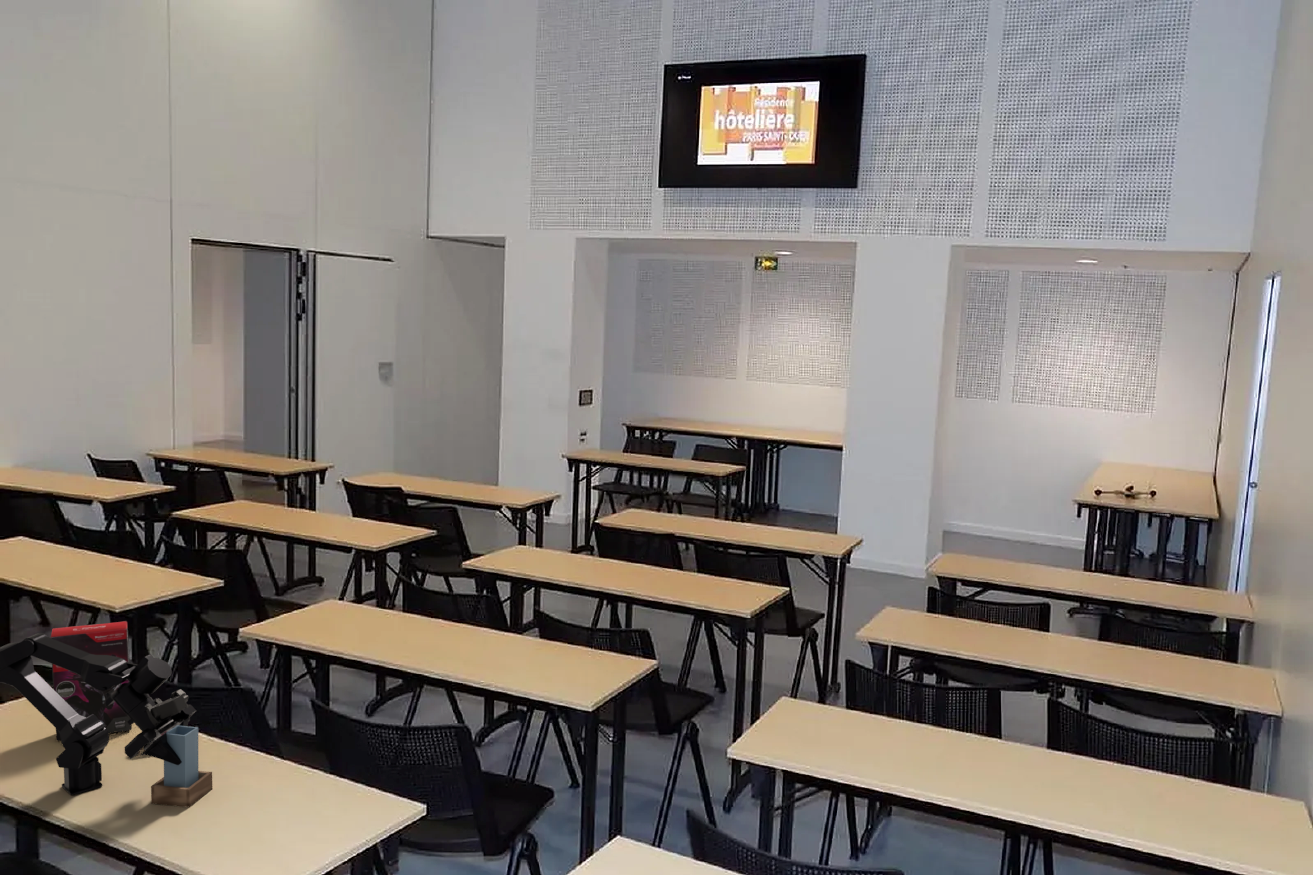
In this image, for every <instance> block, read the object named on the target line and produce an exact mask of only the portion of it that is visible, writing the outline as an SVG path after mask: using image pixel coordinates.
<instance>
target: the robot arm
mask: <svg viewBox="0 0 1313 875" xmlns="http://www.w3.org/2000/svg"><path fill="white" fill-rule="evenodd" d="M32 657H34V658H37V659H39V660H42V661H45V662H46V663H49V664H51V665H52V664H54V665H57V666H59V667H62V668H64V669H67V670H69V671H72V672H74V673H76V674H78V675H80V676H81V677H82V679H83V680H84V682H85V683H87V684H88V685H90V686H91V687H93V688H95V689H97V690H99V691H105V690H108V689H110V688H112V687H113V686H117V685H119V684H121V683H123V682H125V681H126V680H129V681H130V682H129V683H123V684H121V685H120V686H119V687H118V688H117V689H116V690H112V691H110V692H108V693H106V701H105V705H106V706H109V705H110V704H112V703H114V702H116V703H117V704H118V706H119V707H120V708H121V709H122V710H123V711H124V712H125V713H126V714H127V715H128V717H129V718H130V720H129V721H128V723H129V725H132V726H133V724H135V725H136V727H137V728H138V729H139V730H140V731H141V732H139V733H137V734H136V735H135V737H133V738H132V739H131V740H130V741H129V743H127V744H126V745H125V746H124V754H125V755H126V756H127V758H128V759H130V760H132V759H133V758H135V757H136V756H137V755H139V754H140V755H141V756H149V757H152V758H156V759H160V760H162V761H163V762H164V761H167V762H170V763H173V764H175V765H180V764H181V763H182V761H181V760H180V758H179V756H178V755H177V754H176V753H175V751H174V750H173V749H172V748H171V746H170V745H169V744H168V742H167V735H166V733H165V734H163V735H162V736H161V734H162V733H164V732H165V731H169V730H171V729H172V728H174V727H176V726H177V725H179V726H189V722H190V721H191V717H192V716H193V715H194V714H195V713H196V712H197V710H196V709H195V707H194V706H193V705H192V704H188V703H187V702H188V701H189V698H190V696H189V695H187V694H186V692H185V691H184V690H182V689H181V688H180V689H177V690H175V691H173V692H171V694H170V698H168V699H166V700H164V701H162V699H160V698H159V697H155V698H154V699H153V698H152V697H151V696H150V695H151V694H153V693H154V692H156V691H157V690H158V689H159V688H160V687H161V686H162V685H163V684H164V683H165V682H166V681H167V680H169V678H170V677H171V676H172V673H173V671H172V668H171V665H170V664H169V663H168V662H167V661H165V660H163V659H161V658H159V657H153V655H152V654H147V655H146V656H144V657H142V659H141V660H140V661H139V663H138V664H137V663H133V662H130V661H129V662H126V661H125V660H124V659H122V658H119V657H115V656H110V655H94V654H90V653H87V652H85V651H82V650H80V649H77V648H75V647H72V646H69V645H67V644H64V643H62V642H59V641H57V640H54V639H52V638H51V637H49V636H48V635H47V634H46V633H42V632H38V633H35V634H33V635H31V636H28V637H25V638H24V639H22V641H20V642H10V643H7V644H5V645H3V646H0V683H2V684H6V685H8V686H11V687H14V689H16V690H17V691H18V692H19V693H20V694H21V695H22V696H23V697H24V698H25V699H26V700H27V701H28V702H29V703H30V704H31V705H32V706H33V707H34V708H35V709H36V710H37V711H38V712H39V713H40V714H41V715H42V716H43V717H44V718H45V719H46V720H47V721H48V722H49V723H50V724H51V725H52V726H53V727H54V728H55V730H56V729H57V730H58V731H59V732H60V737H61V740H60V742H61V745H62V747H63V748H64V750H63V751H62V752H61V753H60V754H59V755H58V756H57V757H56V758H55V760H56V764H57V767H58V768H59V769H60V768H62V769H63V778H64V780H63V781H64V783H62V784H61V788H63V789H64V790H65V792H67V793H68V794H69V795H70V796H75V795H78V794H82V793H85V792H88V791H91V790H95V789H99V788H101V787H103V783H102V778H103V775H102V773H103V772H102V763H101V762H99V761H100V760H99V757H98V756H101V755H102V754H103V753H104V750H105V748H106V747H107V746H108V744H109V741H110V733H109V732H108V730H107V729H106V728H105V727H106V725H105V724H103V723H102V722H100V720H99V719H98V718H97V716H95V715H94V714H92V715H90V716H88V717H84V716H81V715H79V714H78V713H77V712H76V711H75V710H74V709H73V708H72V707H71V706H70V705H69V704H68V703H67V702H66V701H65V700H64V699H63V698H62V697H61V696H60V695H58V694H57V693H56V692H55V691H54V690H53V687H51V685H50V684H49V683H48V682H46V681H45V679H44V678H43V677H42V676H41V675H39V674H38V672H36V670H35V668H34V661H33V658H32ZM142 749H143V752H140V751H141V750H142Z"/></svg>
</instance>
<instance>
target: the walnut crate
mask: <svg viewBox="0 0 1313 875" xmlns="http://www.w3.org/2000/svg"><path fill="white" fill-rule="evenodd" d="M212 790H213V771H205V770H198V781H197V782H195V783H194V784H193V785H191V786H190V787H189V788H183V787H172V786H164V776H163V777H162V778H160V779H159V780H157V781H156V782H155V783H153V784H152V785H151V786H150V794H151V795H150V797H151V804H152V805H160V806H161V805H162V806H172V807H180V808H181V807H184V808H191V807H192V806H193V805H195V804H196V803H197V802H198V801H200V800H201V799H202V798H203V797H205V796H206V795H207V794H208V793H209V792H211V791H212Z"/></svg>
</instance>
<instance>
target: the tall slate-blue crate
mask: <svg viewBox="0 0 1313 875" xmlns="http://www.w3.org/2000/svg"><path fill="white" fill-rule="evenodd" d="M164 734H165V733H164ZM166 735H167V742H168V744H169V745H170V746H171V748H172V749H173V750H174V751H175V753H176V754H177V755H178V756H179V758H180V760H181V761H182V763H181V764H180V765H175V764H173V763H170V762H167V761H164V760H163V777H164V786H172V787H183V788H189V787H190V786H191V785H193V784H194V783H195V782H197V781H198V771H199V727H198V726H195V727H194V726H189V725H188V726H179V725H177V726H176V727H174V728H172V729H171V730H169V731H167V732H166Z"/></svg>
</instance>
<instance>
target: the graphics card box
mask: <svg viewBox="0 0 1313 875" xmlns="http://www.w3.org/2000/svg"><path fill="white" fill-rule="evenodd" d="M128 629H129V628H128V621H127V620H123V621H118V622H117V621H115V622H106V623H97V624H96V623H94V624H85V625H75V626H65V627H54V628H52V630H51V634H50V638H52V639H54V640H57V641H59V642H62V643H64V644H67V645H69V646H72V647H75V648H77V649H80V650H82V651H85V652H87V653H90V654H94V655H110V656H115V657H119V658H122V659H124V660H125V661H126V662H129V663H130V653H129V652H130V651H129V630H128ZM51 667H52V668H51V669H52V689H53V690H54V691H55V692H56V693H57V694H58V695H60V696H61V697H62V698H63V699H64V700H65V701H66V702H67V703H68V704H69V705H70V706H71V707H72V708H73V709H74V710H75V711H76V712H77V713H78V714H79V715H81V716H84V717H88V716H90V715H92V714H94V715H95V716H97V718H98V719H99V720H100V722H102V723H103V724H105V725H106V727H105V728H106V729H107V730H108V732H109V734H113V733H114V734H115V733H120V732H126V731H131V730H132V729H133V728H132V726H133V724H132V725H129V723H128V721H129V720H130V718H129V717H128V715H127V714H126V713H125V712H124V711H123V710H122V709H121V708H120V707H119V706H118V704H117V703H116V702H114V703H112V704H110V705H109V706H106V705H105V701H106V693H108V692H110V691H112V690H116V689H117V688H118V687H119V686H120V685H121V684H123V683H129V682H130V681H129V680H126V681H125V682H123V683H121V684H119V685H117V686H113V687H112V688H110V689H108V690H105V691H99V690H97V689H95V688H93V687H91V686H90V685H88V684H87V683H85V682H84V680H83V679H82V677H81V676H80V675H78V674H76V673H74V672H72V671H69V670H67V669H64V668H62V667H59V666H57V665H54V664H52V663H51ZM55 736H56V738H55V739H56V742H57V741H60V742H61V737H60V732H59V731H58V730H57V729H56V728H55Z"/></svg>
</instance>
